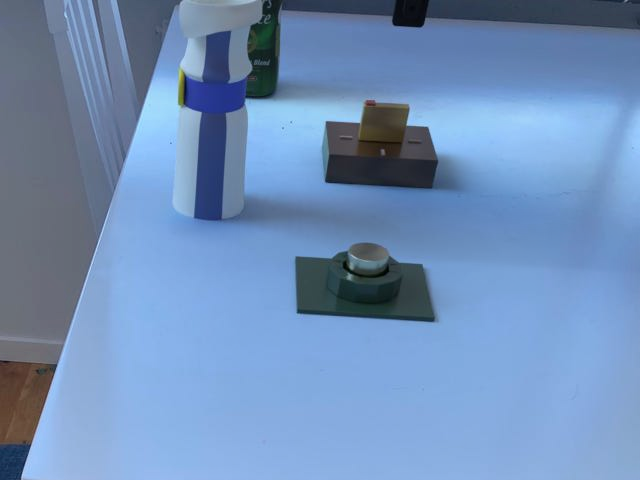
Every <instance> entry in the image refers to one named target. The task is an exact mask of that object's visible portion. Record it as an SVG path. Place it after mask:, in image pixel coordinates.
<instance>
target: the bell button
mask: <svg viewBox="0 0 640 480" xmlns="http://www.w3.org/2000/svg"><path fill="white" fill-rule="evenodd" d="M347 251H348V255H347V261H346V266H345V270H346V271H347V272H348V273H350V274H352V275H355V276H358V277H364V278H377V277H382V276H384V275H385V272H386V268H387V263H388V258H389V256H390V252H389V250H388V249H387V248H386V247H384V246H383V245H381V244H378V243H374V242H356V243H354V244H352V245H350V246H349V248H348V250H347Z"/></svg>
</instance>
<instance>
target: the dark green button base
mask: <svg viewBox="0 0 640 480" xmlns="http://www.w3.org/2000/svg"><path fill="white" fill-rule="evenodd" d="M347 255H348V250H345V251H340V252H338V253H336V254H335V255H334V256H333V257H314V256H298V255H295V257H294V274H295V303H296V304H295V305H296V314H301V315H320V316H335V317H348V318H349V317H351V318H366V319H380V320H381V319H383V320H397V321H413V322H414V321H415V322H429V323H434V322H435V318H436V317H435V313H434V309H433V304H432V300H431V296H430V291H429V287H428V283H427V278H426V274H425V269H424V265H423V264H422V263H414V262H413V263H412V262H411V263H410V262H399V261H398V260H396V259H395V258H393V257H392V256H390V255H389V258H388V263H387V268H386V272H385V275H384V276H382V277H377V278H364V277H358V276H355V275H352V274H350V273H348V272H347V271H346V270H345V266H346V261H347Z"/></svg>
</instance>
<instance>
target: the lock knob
mask: <svg viewBox="0 0 640 480" xmlns="http://www.w3.org/2000/svg"><path fill="white" fill-rule="evenodd" d="M410 108H411V107H410V105H409V103H395V102H394V103H393V102H378V101H377V102H376V100H375V99H365V101H363V105H362V110H361V115H360V122H359V123H360V127H359V133H358V138H359V140H363V141H381V142H398V143H403V140H404V135H405V130H406V126H408V119H409V114H410Z"/></svg>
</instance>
